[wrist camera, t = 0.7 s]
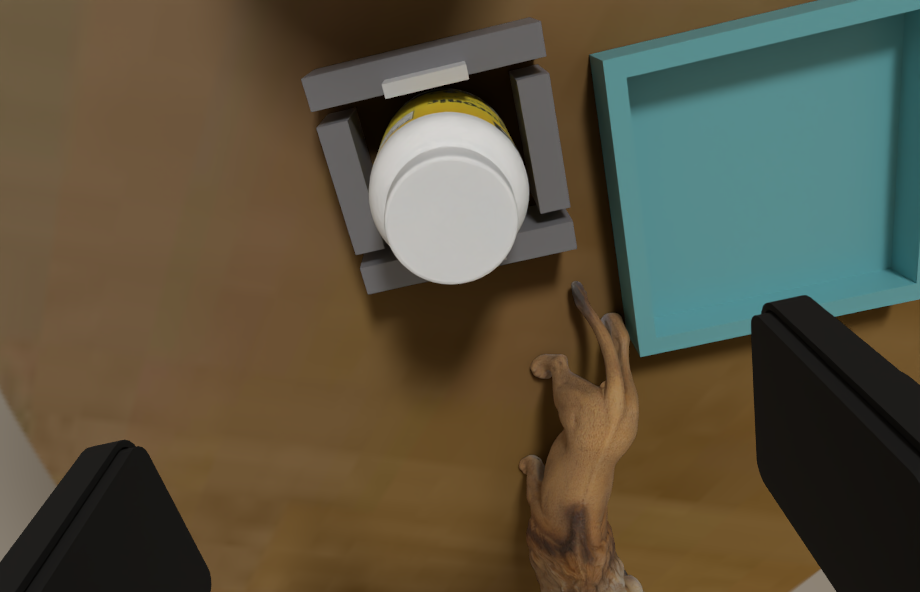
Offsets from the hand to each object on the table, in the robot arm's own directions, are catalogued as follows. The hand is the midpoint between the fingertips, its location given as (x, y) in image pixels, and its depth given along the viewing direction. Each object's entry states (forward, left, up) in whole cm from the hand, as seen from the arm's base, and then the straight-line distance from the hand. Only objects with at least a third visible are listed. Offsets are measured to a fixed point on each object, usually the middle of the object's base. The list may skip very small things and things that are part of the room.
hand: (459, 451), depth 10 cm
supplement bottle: (0, 0, -21) cm, 21 cm away
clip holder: (0, 0, -20) cm, 20 cm away
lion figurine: (-3, +15, -21) cm, 26 cm away
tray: (-13, +4, -20) cm, 24 cm away
